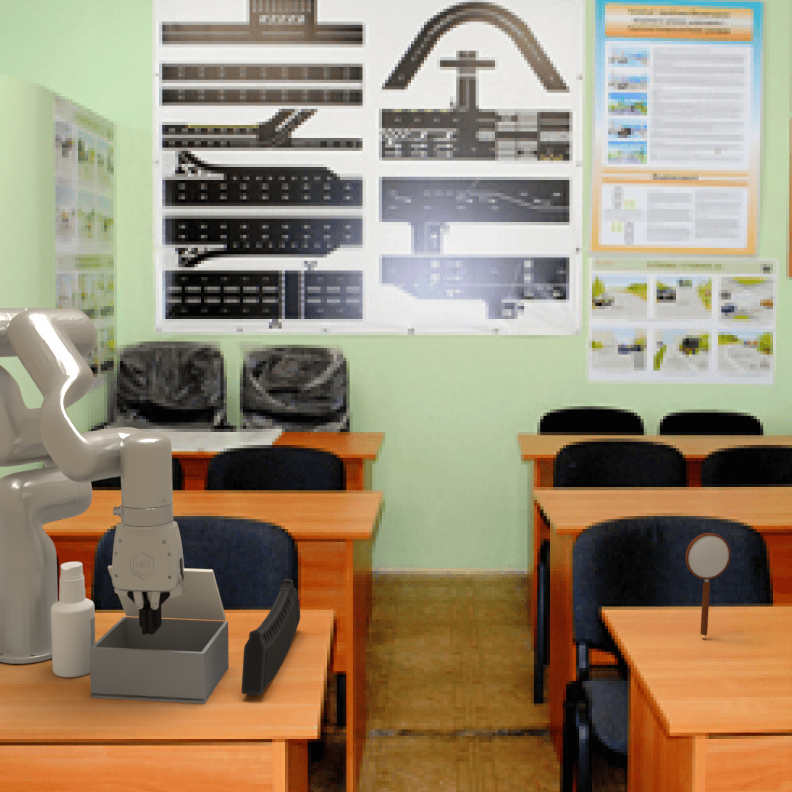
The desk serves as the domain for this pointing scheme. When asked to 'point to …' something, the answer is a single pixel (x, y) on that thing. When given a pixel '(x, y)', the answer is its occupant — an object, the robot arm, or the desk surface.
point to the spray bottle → (72, 624)
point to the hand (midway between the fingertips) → (150, 631)
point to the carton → (160, 661)
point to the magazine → (270, 641)
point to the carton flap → (187, 598)
